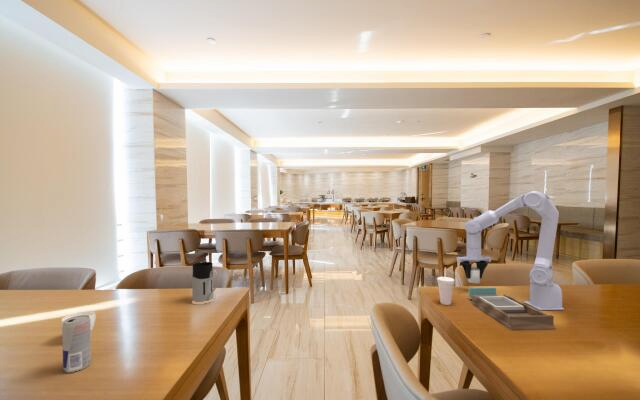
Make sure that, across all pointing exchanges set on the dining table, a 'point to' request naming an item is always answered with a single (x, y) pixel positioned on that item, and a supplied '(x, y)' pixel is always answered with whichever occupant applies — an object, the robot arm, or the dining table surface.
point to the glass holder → (203, 281)
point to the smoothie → (445, 289)
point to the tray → (497, 300)
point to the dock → (516, 315)
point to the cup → (89, 313)
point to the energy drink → (76, 343)
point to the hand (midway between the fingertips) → (473, 278)
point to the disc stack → (474, 275)
